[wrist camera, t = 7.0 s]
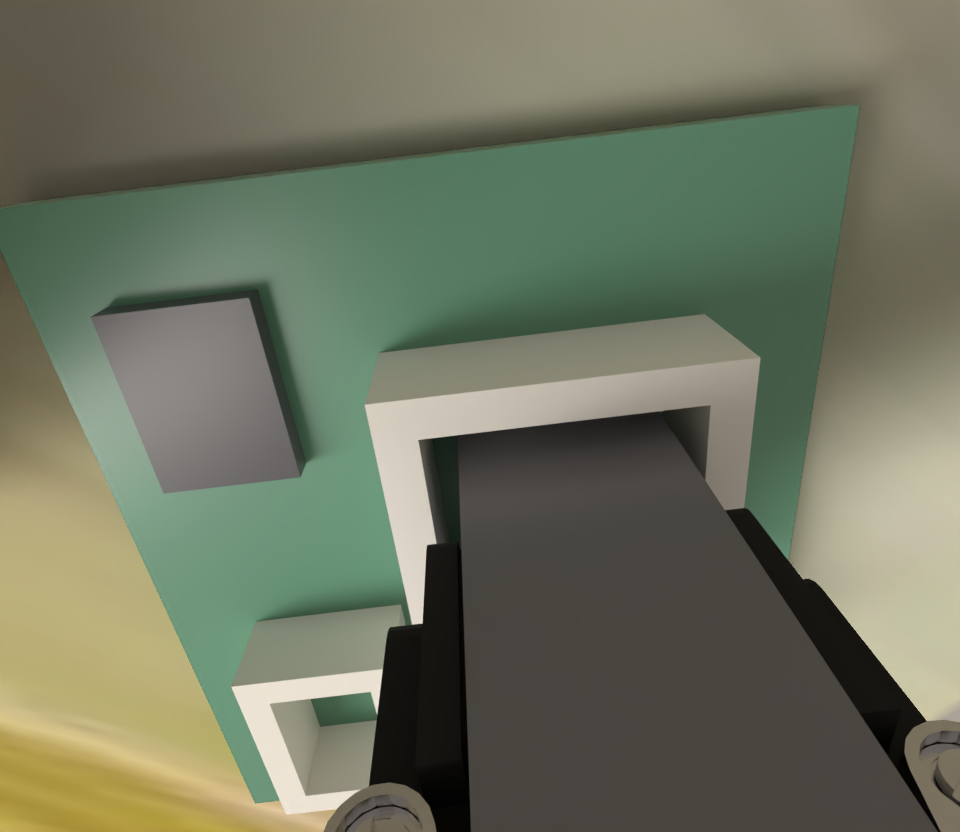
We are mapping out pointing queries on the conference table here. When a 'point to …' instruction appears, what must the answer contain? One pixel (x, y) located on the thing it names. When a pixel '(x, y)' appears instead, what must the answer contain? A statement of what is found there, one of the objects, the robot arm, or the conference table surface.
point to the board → (384, 328)
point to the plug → (642, 653)
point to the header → (555, 408)
